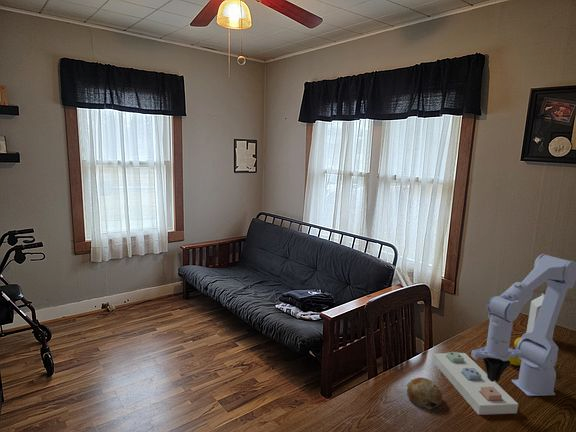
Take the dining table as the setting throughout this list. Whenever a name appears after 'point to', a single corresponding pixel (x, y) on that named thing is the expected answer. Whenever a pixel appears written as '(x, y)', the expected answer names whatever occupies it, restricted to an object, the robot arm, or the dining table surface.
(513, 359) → the duckling
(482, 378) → the button panel
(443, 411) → the dining table surface
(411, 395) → the bread roll
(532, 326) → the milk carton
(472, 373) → the button three
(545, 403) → the dining table surface
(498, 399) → the button one
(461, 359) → the button two
